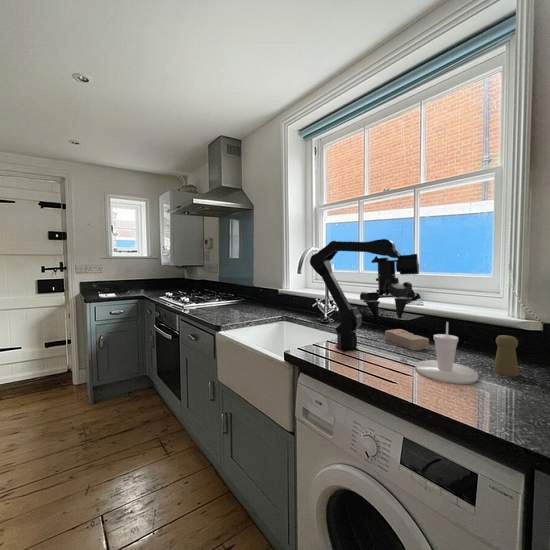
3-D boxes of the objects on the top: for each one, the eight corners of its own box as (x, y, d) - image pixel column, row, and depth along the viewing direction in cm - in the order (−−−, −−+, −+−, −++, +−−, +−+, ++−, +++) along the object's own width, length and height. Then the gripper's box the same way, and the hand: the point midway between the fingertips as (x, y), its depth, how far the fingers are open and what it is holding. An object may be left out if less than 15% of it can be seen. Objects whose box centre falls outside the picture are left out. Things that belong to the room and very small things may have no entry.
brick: (430, 349, 112) (430, 337, 112) (412, 351, 109) (412, 338, 109) (400, 339, 128) (400, 328, 127) (384, 340, 125) (384, 329, 125)
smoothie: (440, 372, 84) (441, 324, 83) (428, 365, 90) (429, 319, 89) (462, 373, 84) (464, 324, 83) (449, 365, 90) (450, 319, 89)
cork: (488, 369, 90) (489, 333, 90) (506, 368, 91) (507, 333, 90) (505, 376, 84) (506, 338, 84) (524, 376, 85) (525, 338, 84)
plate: (445, 386, 77) (445, 382, 77) (403, 366, 92) (403, 362, 92) (492, 380, 81) (492, 376, 81) (445, 362, 96) (445, 358, 96)
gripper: (377, 276, 93) (379, 325, 93) (425, 273, 98) (427, 320, 98) (358, 276, 104) (360, 320, 104) (403, 274, 109) (404, 316, 109)
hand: (388, 319), depth 103 cm, fingers open, 9 cm apart
